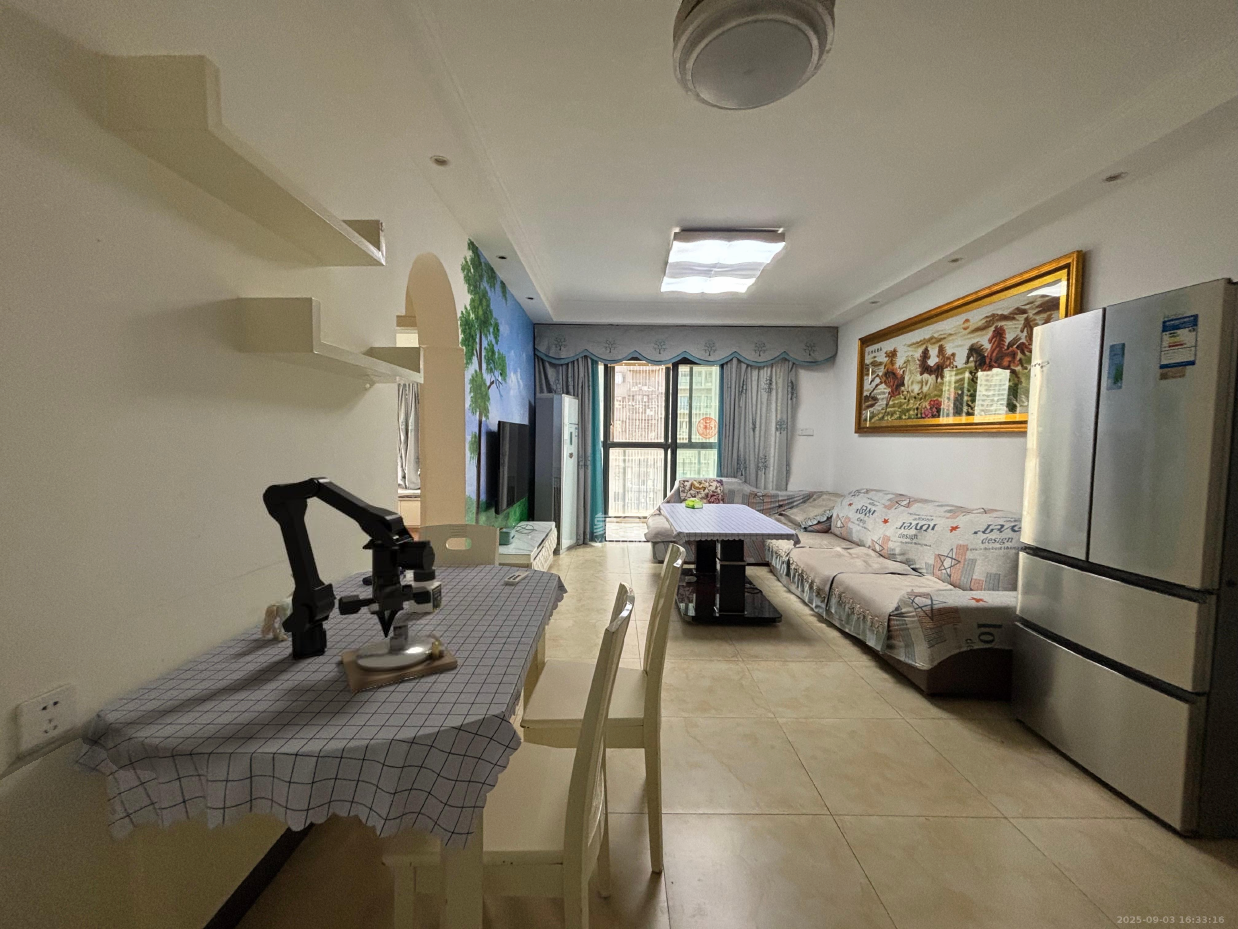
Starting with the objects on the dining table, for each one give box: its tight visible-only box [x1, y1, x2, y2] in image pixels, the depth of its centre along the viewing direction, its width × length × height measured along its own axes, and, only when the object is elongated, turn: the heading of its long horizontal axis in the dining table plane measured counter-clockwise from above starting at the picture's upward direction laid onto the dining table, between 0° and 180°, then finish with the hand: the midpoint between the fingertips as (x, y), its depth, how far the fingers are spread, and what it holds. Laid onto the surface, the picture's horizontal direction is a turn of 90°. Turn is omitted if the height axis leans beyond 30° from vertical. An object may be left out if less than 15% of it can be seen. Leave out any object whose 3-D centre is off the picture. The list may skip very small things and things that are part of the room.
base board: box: [340, 633, 459, 694], centre depth 114 cm, size 20×20×2 cm
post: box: [388, 635, 405, 651], centre depth 113 cm, size 3×3×2 cm
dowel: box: [432, 642, 439, 660], centre depth 111 cm, size 1×1×4 cm
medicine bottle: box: [407, 567, 443, 613], centre depth 152 cm, size 7×7×12 cm
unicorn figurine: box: [260, 573, 295, 642], centre depth 135 cm, size 7×20×13 cm, turn 12°
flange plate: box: [356, 622, 448, 671], centre depth 113 cm, size 18×16×4 cm
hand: (386, 637), depth 119 cm, fingers closed
